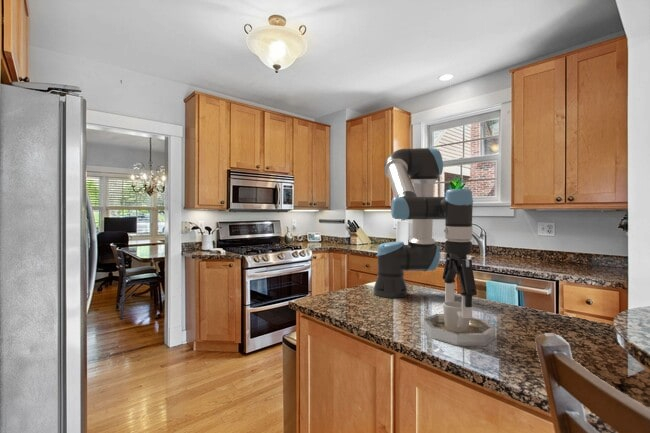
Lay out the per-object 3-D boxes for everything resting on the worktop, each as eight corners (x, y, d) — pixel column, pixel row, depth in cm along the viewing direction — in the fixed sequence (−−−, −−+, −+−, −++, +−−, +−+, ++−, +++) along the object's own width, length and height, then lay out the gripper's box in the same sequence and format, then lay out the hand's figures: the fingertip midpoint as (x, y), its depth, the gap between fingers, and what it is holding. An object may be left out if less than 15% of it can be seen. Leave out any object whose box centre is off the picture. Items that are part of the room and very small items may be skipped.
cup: (476, 339, 92) (476, 311, 92) (446, 337, 93) (446, 309, 93) (467, 326, 102) (467, 301, 102) (441, 324, 104) (441, 300, 104)
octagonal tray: (419, 322, 107) (419, 313, 107) (475, 323, 106) (475, 314, 106) (437, 345, 89) (437, 334, 89) (505, 346, 88) (505, 335, 88)
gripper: (433, 236, 110) (432, 298, 110) (462, 245, 85) (461, 324, 86) (455, 236, 110) (454, 298, 110) (491, 245, 85) (490, 325, 85)
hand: (457, 310), depth 98 cm, fingers open, 13 cm apart
